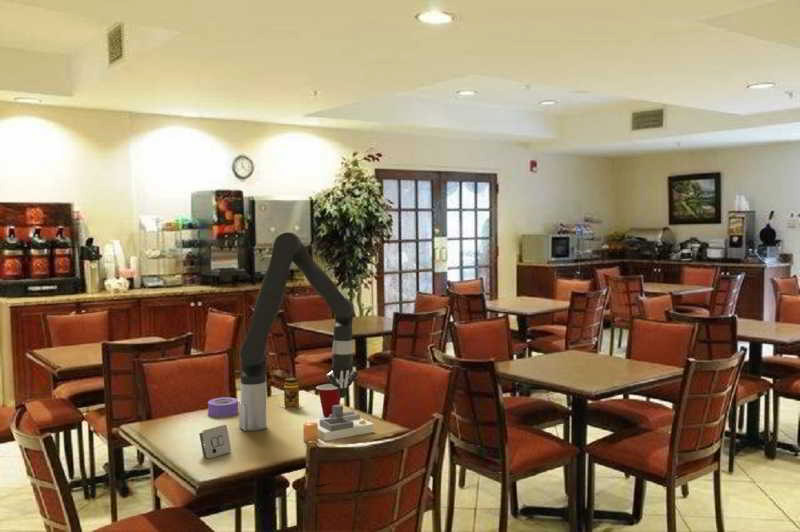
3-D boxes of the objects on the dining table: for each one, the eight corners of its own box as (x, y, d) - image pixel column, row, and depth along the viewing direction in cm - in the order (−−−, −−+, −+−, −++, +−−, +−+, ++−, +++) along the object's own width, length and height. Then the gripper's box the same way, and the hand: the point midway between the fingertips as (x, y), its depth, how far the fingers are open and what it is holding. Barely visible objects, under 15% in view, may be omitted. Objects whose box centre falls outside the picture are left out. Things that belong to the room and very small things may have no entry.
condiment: (287, 410, 280) (287, 381, 279) (278, 405, 287) (278, 377, 286) (303, 407, 284) (303, 379, 283) (294, 403, 291) (294, 375, 290)
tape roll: (228, 418, 268) (228, 405, 268) (202, 415, 271) (202, 403, 271) (243, 410, 280) (243, 398, 279) (218, 408, 283) (218, 396, 283)
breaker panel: (324, 441, 239) (324, 427, 239) (305, 429, 253) (305, 416, 252) (373, 431, 250) (373, 418, 250) (352, 421, 264) (352, 408, 263)
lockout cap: (307, 444, 236) (307, 426, 236) (301, 440, 240) (301, 423, 240) (320, 441, 239) (320, 424, 239) (314, 437, 243) (313, 421, 243)
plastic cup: (329, 409, 280) (329, 381, 280) (349, 414, 274) (349, 384, 273) (310, 415, 272) (310, 385, 271) (331, 420, 265) (330, 389, 265)
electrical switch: (208, 460, 220) (206, 431, 220) (198, 458, 223) (196, 429, 223) (231, 452, 227) (229, 424, 227) (222, 451, 230) (220, 423, 230)
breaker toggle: (335, 420, 253) (335, 407, 253) (332, 418, 256) (332, 405, 256) (343, 419, 255) (343, 406, 255) (339, 417, 257) (339, 404, 257)
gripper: (353, 348, 262) (352, 393, 263) (322, 351, 255) (321, 397, 255) (363, 352, 255) (362, 397, 256) (331, 354, 248) (330, 401, 249)
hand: (341, 397), depth 256 cm, fingers closed
